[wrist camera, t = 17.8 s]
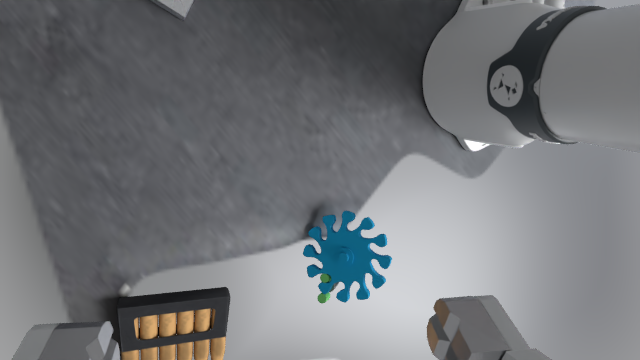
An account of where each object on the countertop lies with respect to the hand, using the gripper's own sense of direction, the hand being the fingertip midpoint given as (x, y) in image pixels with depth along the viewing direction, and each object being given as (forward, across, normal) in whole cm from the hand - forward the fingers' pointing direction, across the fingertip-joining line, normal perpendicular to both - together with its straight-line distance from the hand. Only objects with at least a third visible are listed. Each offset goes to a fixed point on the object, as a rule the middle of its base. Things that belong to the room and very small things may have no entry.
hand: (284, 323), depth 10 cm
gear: (+27, -8, +23) cm, 36 cm away
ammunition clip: (+22, +9, +24) cm, 33 cm away
